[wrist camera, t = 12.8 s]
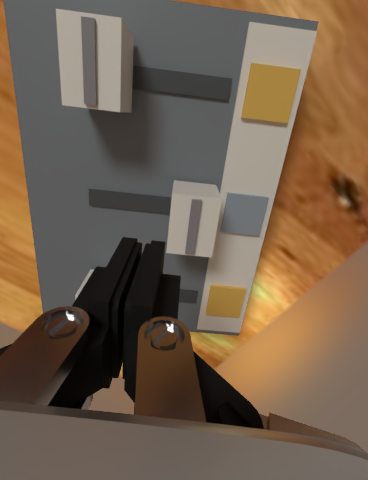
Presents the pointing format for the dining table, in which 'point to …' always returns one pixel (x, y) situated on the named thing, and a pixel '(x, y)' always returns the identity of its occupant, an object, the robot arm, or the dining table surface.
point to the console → (159, 143)
